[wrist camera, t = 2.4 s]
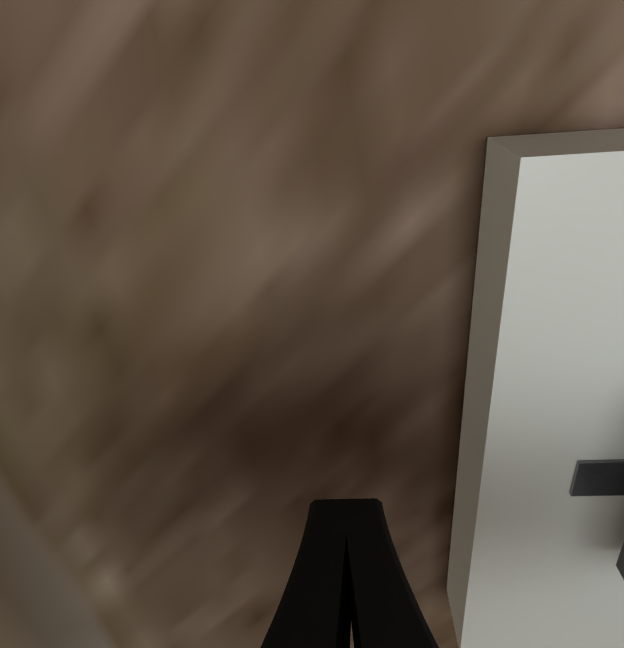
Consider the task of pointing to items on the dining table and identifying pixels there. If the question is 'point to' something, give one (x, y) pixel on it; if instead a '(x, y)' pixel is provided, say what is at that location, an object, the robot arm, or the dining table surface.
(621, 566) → the fader knob
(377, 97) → the dining table surface
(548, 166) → the dimmer panel
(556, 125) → the dining table surface
